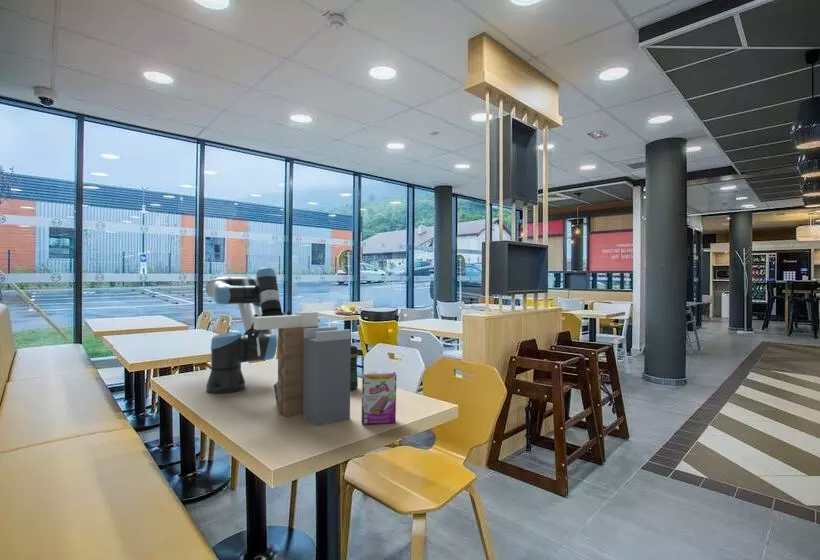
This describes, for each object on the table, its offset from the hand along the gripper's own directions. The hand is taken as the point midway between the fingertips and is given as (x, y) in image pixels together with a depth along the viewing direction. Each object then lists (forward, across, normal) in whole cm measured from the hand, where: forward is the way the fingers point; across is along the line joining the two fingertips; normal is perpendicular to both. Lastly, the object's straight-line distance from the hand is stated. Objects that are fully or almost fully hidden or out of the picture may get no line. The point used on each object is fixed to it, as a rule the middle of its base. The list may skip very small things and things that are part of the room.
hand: (278, 352), depth 163 cm
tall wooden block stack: (+24, +3, -3) cm, 24 cm away
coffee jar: (+14, +28, +18) cm, 36 cm away
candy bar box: (+37, +25, -21) cm, 49 cm away
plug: (-2, +2, -19) cm, 19 cm away
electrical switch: (+18, +1, +6) cm, 20 cm away
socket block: (+30, +10, -12) cm, 34 cm away
